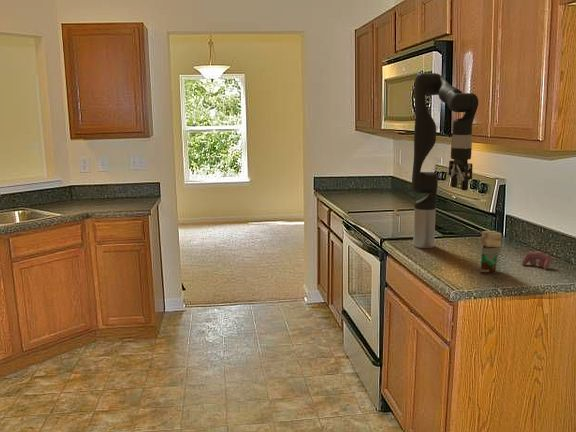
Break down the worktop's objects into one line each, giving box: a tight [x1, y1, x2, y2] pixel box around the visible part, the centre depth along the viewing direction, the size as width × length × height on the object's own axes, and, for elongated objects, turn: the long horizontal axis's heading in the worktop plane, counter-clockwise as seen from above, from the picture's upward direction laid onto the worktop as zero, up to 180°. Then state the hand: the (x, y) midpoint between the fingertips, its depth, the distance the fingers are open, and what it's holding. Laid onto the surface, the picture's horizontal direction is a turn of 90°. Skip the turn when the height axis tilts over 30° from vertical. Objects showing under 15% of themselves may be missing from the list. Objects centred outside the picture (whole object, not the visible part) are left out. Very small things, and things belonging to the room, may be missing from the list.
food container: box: [480, 245, 501, 275], centre depth 210 cm, size 12×6×10 cm, turn 158°
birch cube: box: [480, 230, 503, 248], centre depth 209 cm, size 5×5×5 cm
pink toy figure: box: [521, 250, 552, 270], centre depth 217 cm, size 10×5×7 cm, turn 45°
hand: (459, 188), depth 216 cm, fingers open, 8 cm apart
